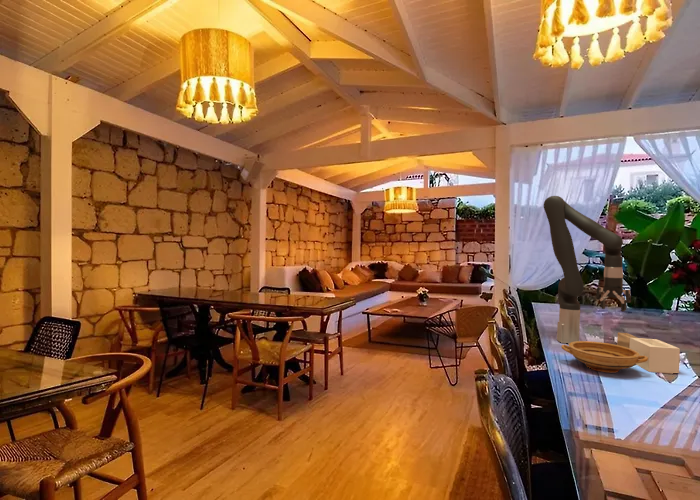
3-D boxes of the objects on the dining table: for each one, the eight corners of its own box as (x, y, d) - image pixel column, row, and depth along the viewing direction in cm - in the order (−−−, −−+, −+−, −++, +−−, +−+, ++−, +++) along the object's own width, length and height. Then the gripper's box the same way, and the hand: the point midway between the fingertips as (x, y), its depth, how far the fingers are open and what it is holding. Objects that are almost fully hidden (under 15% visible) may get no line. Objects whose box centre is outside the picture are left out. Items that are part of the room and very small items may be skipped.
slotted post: (648, 371, 156) (649, 346, 156) (628, 360, 171) (629, 337, 171) (678, 373, 154) (679, 348, 154) (655, 362, 169) (656, 339, 169)
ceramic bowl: (643, 366, 162) (644, 347, 162) (652, 384, 142) (653, 362, 141) (562, 354, 178) (562, 337, 177) (559, 369, 157) (559, 349, 156)
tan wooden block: (628, 357, 176) (628, 337, 176) (616, 351, 186) (617, 332, 186) (637, 358, 175) (638, 338, 175) (626, 352, 185) (627, 333, 185)
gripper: (593, 275, 192) (593, 308, 193) (626, 278, 180) (626, 313, 181) (601, 274, 196) (600, 307, 197) (633, 276, 184) (633, 311, 185)
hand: (613, 310), depth 189 cm, fingers open, 8 cm apart
